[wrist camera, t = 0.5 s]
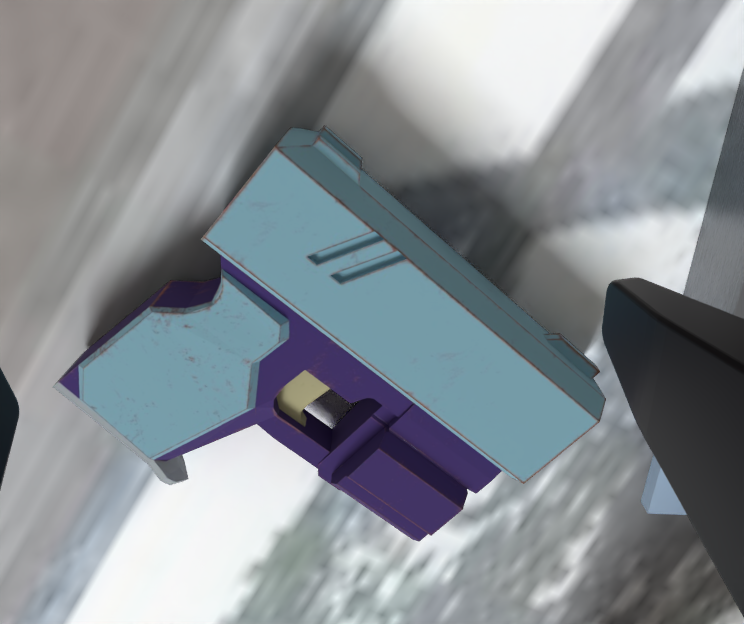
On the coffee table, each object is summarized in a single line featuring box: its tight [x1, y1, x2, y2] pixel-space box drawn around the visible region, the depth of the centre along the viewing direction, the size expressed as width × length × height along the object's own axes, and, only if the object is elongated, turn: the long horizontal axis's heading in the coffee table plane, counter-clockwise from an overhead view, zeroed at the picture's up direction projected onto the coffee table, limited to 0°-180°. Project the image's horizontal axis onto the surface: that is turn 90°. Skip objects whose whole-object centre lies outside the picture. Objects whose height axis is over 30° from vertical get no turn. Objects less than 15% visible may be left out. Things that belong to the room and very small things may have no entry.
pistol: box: [53, 126, 606, 541], centre depth 25 cm, size 4×16×15 cm
